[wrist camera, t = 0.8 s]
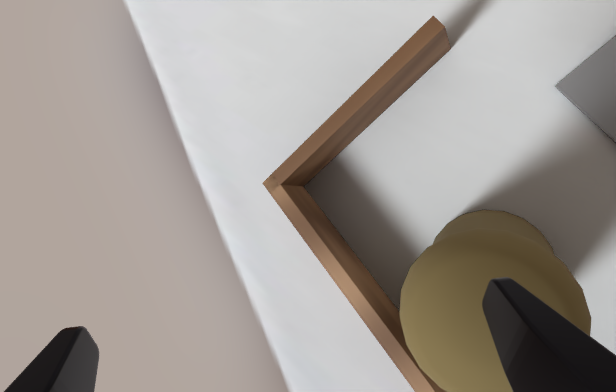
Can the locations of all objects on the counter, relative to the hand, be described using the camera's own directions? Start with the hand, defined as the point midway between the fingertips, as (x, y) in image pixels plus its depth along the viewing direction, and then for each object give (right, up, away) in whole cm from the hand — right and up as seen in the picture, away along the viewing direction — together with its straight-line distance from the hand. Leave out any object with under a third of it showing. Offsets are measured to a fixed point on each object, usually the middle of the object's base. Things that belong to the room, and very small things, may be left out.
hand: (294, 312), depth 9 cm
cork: (+10, -1, +12) cm, 15 cm away
